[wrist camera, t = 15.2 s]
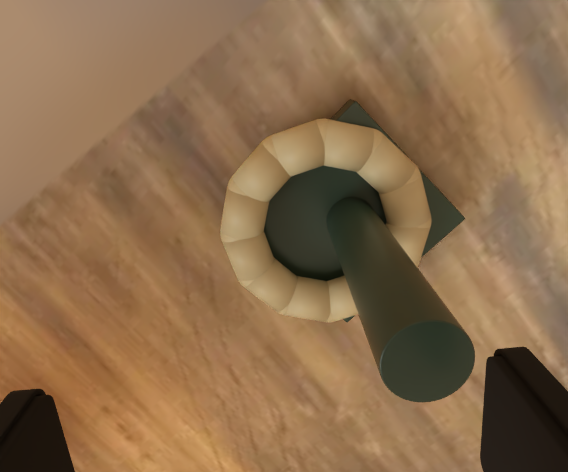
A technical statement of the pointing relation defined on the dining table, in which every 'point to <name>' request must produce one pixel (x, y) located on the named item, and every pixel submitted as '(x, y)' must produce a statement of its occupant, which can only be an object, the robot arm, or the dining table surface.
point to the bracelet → (300, 158)
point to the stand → (374, 271)
